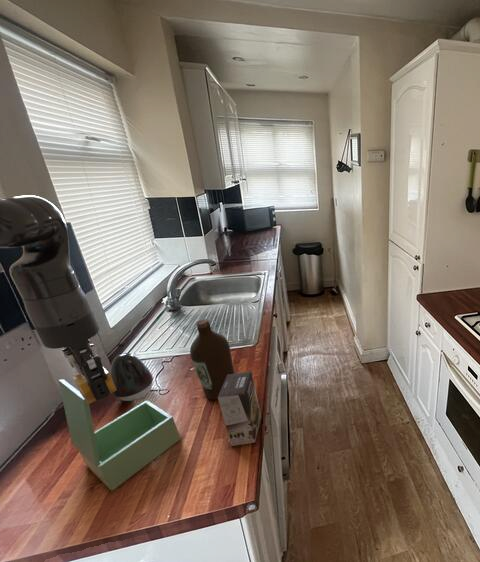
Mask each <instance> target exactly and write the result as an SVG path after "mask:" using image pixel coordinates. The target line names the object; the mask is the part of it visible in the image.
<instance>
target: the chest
mask: <svg viewBox="0 0 480 562" xmlns="http://www.w3.org/2000/svg"><path fill="white" fill-rule="evenodd" d="M94 433H95V438H96V444H97V449H98V454H99V460H100V465H98V466H97V467H96V466H95V465H94V464H93V463H92V462H90V461H89V460H88V459H87V458H86V457H85V456H84V455H83V454H82V453H81V452H80V451H79V450H78V452H79V454H80V456H81V458H82V460H83V462H84V463H85V464H86V466H87V468H88V469H89V470H90V471H91V472H92V473H93V474H94V475H95V476H96V477H97V478H98V479H99V480H100V481H101V482H102V483H103V484H104V485H105V486H106V487H107V488H108V489H109V490H110V491H111V492H113V491H114V490H116V489H117V488H119V486H121V485H122V484H124V483H125V482H127V480H128V479H130V478H131V477H133V476H134V475H135V474H137V473H138V472H139V471H141V470H142V469H143V468H144V467H146V466H147V465H148V464H149V463H151V462H152V461H154V460H155V459H156V458H157V457H159V456H160V455H162V454H163V453H164V452H165V451H167V450H168V449H170V448H171V447H172V446H174V444H177V442H179V441H180V440H181V438H182V437H181V435H180V433H179V430H178V428H177V425H176V421H175V419H174V417H173V416H172V415H170V414H169V413H167V412H166V411H165V410H163V409H161V408H159V407H158V406H157V405H155V404H154V403H152V402H150V401H149V400H144V401H143V402H141V403H140V404H138V405H135V406H134V407H133V408H131V409H130V410H128V411H126V412H125V413H123V414H121V415H120V416H118V417H116V418H115V419H113V420H112V421H110V422H108V423H106V424H105V425H103V426H101V427H100V428H98V429H97V430H94Z"/></svg>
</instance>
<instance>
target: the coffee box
mask: <svg viewBox="0 0 480 562" xmlns="http://www.w3.org/2000/svg"><path fill="white" fill-rule="evenodd" d="M234 373H235V372H234ZM217 400H218V403H219V407H220V411H221V415H222V418H223V422H224V426H225V429H226V432H227V433H226V434H227V436H228V440H229V443H230V446H231V447H235V446H242V445H247V444H254V443H255V444H256V442H257V437H258V433H259V428H260V424H261V420H262V413H261V408H260V404H259V403H260V402H259V400H258V395H257V391H256V385H255V382H254V378H253V373H252V371H251V370H248V371H241V372H236V373H235V374H228V375H227V377H226V379H225V381H224V384H223V386H222V388H221V391H220V393H219V396H218V399H217Z"/></svg>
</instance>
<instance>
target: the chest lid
mask: <svg viewBox="0 0 480 562" xmlns="http://www.w3.org/2000/svg"><path fill="white" fill-rule="evenodd" d="M58 384H59V389H60V390H59V391H60V394H61V395H60V396H61V399H62V405H63V409H64V414H65V418H66V423H67V427H68V432H69V433H68V434H69V436H70V437H69V438H70V442H71V444H72V445H73V446H74V447H75V448H76V449H77V451H78V452H79V451H80V452H81V453H82V454H83V455H84V456H85V457H86V458H87V459H88V460H89V461H90V462H92V463H93V464H94V465H95V466H96V467H97V466H98V465H100V460H99V454H98V449H97V444H96V438H95V433H94V432H95V429H94V423H93V417H92V413H91V408H90V407H91V406H90V404H88V403H87V401H86V400H85V399H84V398H83V396H82V395H81V393H80V391H79V389H78V388H76V387H74V386H73V385H72V384H70V383H69V382H68V381H66V380H65V379H64V378H62V379H59V380H58ZM80 452H79V453H80Z"/></svg>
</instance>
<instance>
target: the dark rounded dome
mask: <svg viewBox="0 0 480 562" xmlns="http://www.w3.org/2000/svg"><path fill="white" fill-rule="evenodd" d="M109 373H110V376H111V378H112V380H113V383H114V385H115V387H116V389H117V390H116V391H114V392H112V394H113V395H114V397H116V398H117V399H119V400H120V401H123V402H133V401H136V400H139V399H142V398H143V397H145V396H146V395H147V394H148V393H149V392H150V391H151V389H152V387H153V384H154V383H153V382H154V376H153V374H152V373H151V371H150V369H149V368H148V367H147V365H146V364H145V362H143V361H142V360H141V358H139V357H137V356H136V355H134V354H132V353H130V352H123V353H120V354H118V355H116V356H115V357H114V358H113V360H112V362H111V365H110V370H109Z"/></svg>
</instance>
